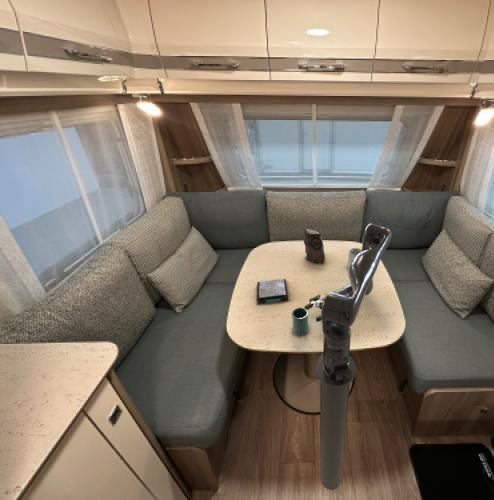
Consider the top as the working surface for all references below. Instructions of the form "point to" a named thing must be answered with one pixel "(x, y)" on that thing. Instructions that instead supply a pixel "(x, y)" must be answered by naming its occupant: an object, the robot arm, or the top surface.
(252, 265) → the top surface
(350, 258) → the mug
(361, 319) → the top surface
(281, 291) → the scale
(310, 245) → the owl
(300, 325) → the cup
